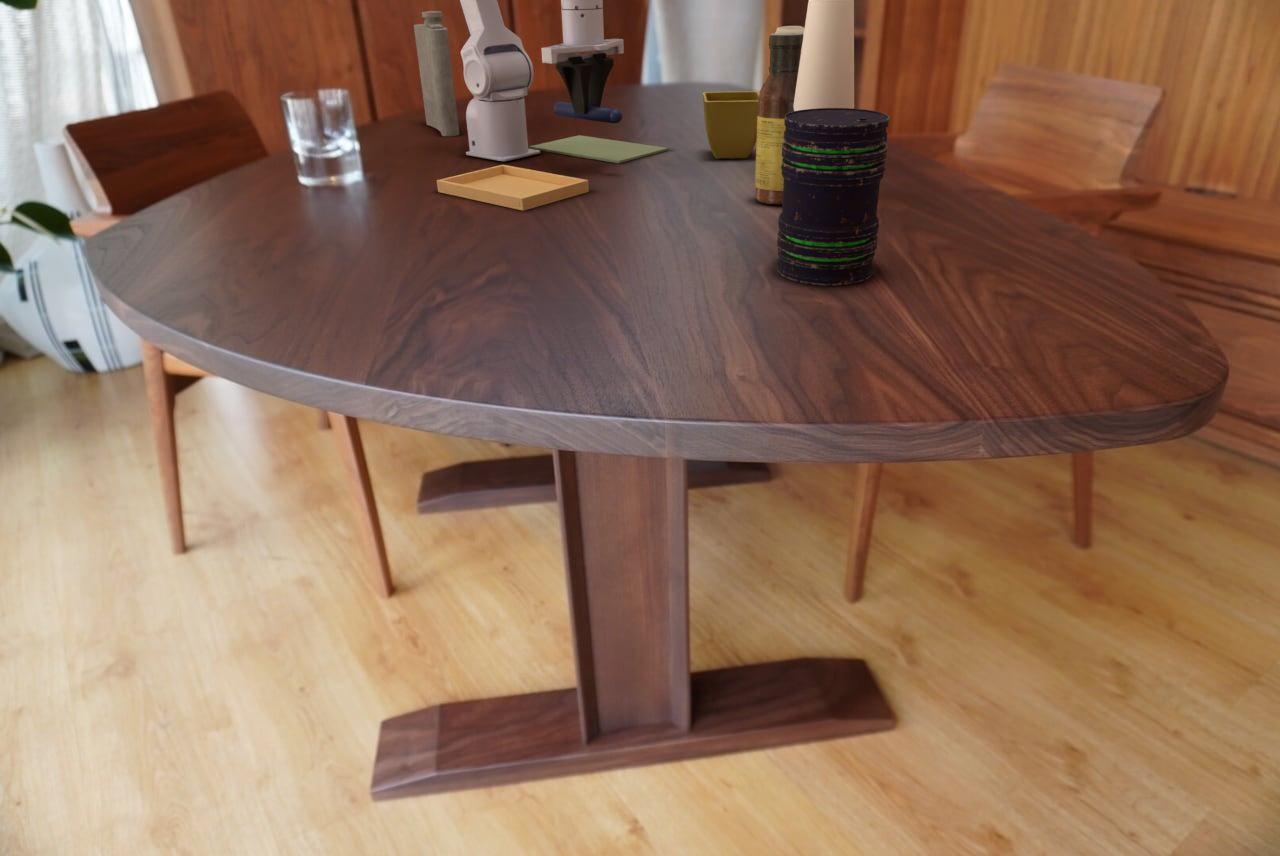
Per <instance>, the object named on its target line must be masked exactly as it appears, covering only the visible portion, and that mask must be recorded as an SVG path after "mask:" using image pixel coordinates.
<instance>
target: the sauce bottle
mask: <svg viewBox="0 0 1280 856" xmlns="http://www.w3.org/2000/svg"><path fill="white" fill-rule="evenodd" d="M768 37H769V38H768V49H769V66H768V72H769V75H768V76H767V78H766V80H765V82H763V83H762V86H761V88H760V90H759V93H760V94H759V113H758V116H757V141H756V143H755V169H754V171H755V173H754V174H755V175H754V187H755V192H754V193H755V194H754V196H755V199H756V200H757V201H758V202H759V203H762V204H766V205H781V206H782V205H783V186H784V178H783V176H782V169H781V166H782V159H783V157H782V144H783V143H784V131H785V130H786V126H785V125H784V121H785V115H786V114H788V113H790V112H794V107H793V105H794V98H795V91H796V84H797V77H798V70H799V63H800V57H801V48H802V43H803V34H802V33H775V32H774V33H770V34H769V35H768Z"/></svg>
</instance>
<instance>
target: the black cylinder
mask: <svg viewBox="0 0 1280 856" xmlns="http://www.w3.org/2000/svg"><path fill="white" fill-rule="evenodd" d="M889 124H890V115H888V114H886V113H884V112H881V111H876V110H870V109H863V108H862V109H861V108H854V109H851V108H818V109H806V110H799V111H794V112H790V113H788V114H786V115H785V121H784V125H785V126H786V130H785V131H784V143H783V144H782V157H783V159H782V166H781V169H782V176H783V178H784V186H783V205H781V206H782V207H781V208H782V209H781V213H780V214H779V216H778V222H777V224H778V231H777V237H776V240H777V241H776V245H777V247H778V248H777V255H778V260H777V263H776V271H777V273H778V274H779V275H780V276H782V277H783V278H785V279H788V280H791V281H793V282H797V283H801V284H805V285H806V284H807V285H813V286H846V285H852V284H853V285H854V284H857V283H861V282H864V281H866V280H869V279H870V278H871V277H872V276H873V273H874V264H873V262H874V259H875V258H876V250H877V249H878V240H879V235H878V233H879V229H880V224H879V223H880V219H879V217H878V205H879V194H880V186H881V181H882V179H883V178H884V173H885V172H886V167H885V166H886V165H885V164H886V159H887V154H888V145H887V142H888V132H887V129H888V128H889Z"/></svg>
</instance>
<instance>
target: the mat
mask: <svg viewBox="0 0 1280 856" xmlns="http://www.w3.org/2000/svg"><path fill="white" fill-rule="evenodd" d="M528 149H534V150H539V151H540V152H547V153H553V154H557V155H565V156H571V157H577V158H583V159H589V160H596V161H603V162H607V163H608V162H609V163H613V164H614V163H615V164H622V163H626V162H630V161H633V160H636V159H641V158H645V157H649V156H652V155H656V154H660V153H663V152H664V153H665V152H667V151H669V148H668V147H664V146H659V145H651V144H644V143H638V142H637V143H636V142H630V141H622V140H615V139H608V138H600V137H595V136H588V135H580V134H578V135H574V136H568V137H565V138H560V139H555V140H552V141H547V142H542V143H537V144H534V145H533V144H532V145H530V146H529V145H528Z"/></svg>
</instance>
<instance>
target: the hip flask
mask: <svg viewBox="0 0 1280 856" xmlns="http://www.w3.org/2000/svg"><path fill="white" fill-rule="evenodd" d="M443 17H444V14H443V11H438V10H428V11H422V12H421V18H424V20H423V23H418V24H413V30H414V38H415V45H416V53H417V54H416V55H417V61H418V69H419V77H420V83H421V92H422V93H421V94H422V100H423V107H424V114H425V122H426V123H425V124H426V125H427V126H429V127H432V128H434V129H436V130H438V131H439V132H440V134H441V136H442V137H456V136H460V127H459V118H458V110H457V100H456V93H455V91H456V90H455V83H454V74H453V63H452V55H451V48H450V38H449V30H448V28H447V27H446V26H443V24H444V23H443V19H442V18H443Z"/></svg>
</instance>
